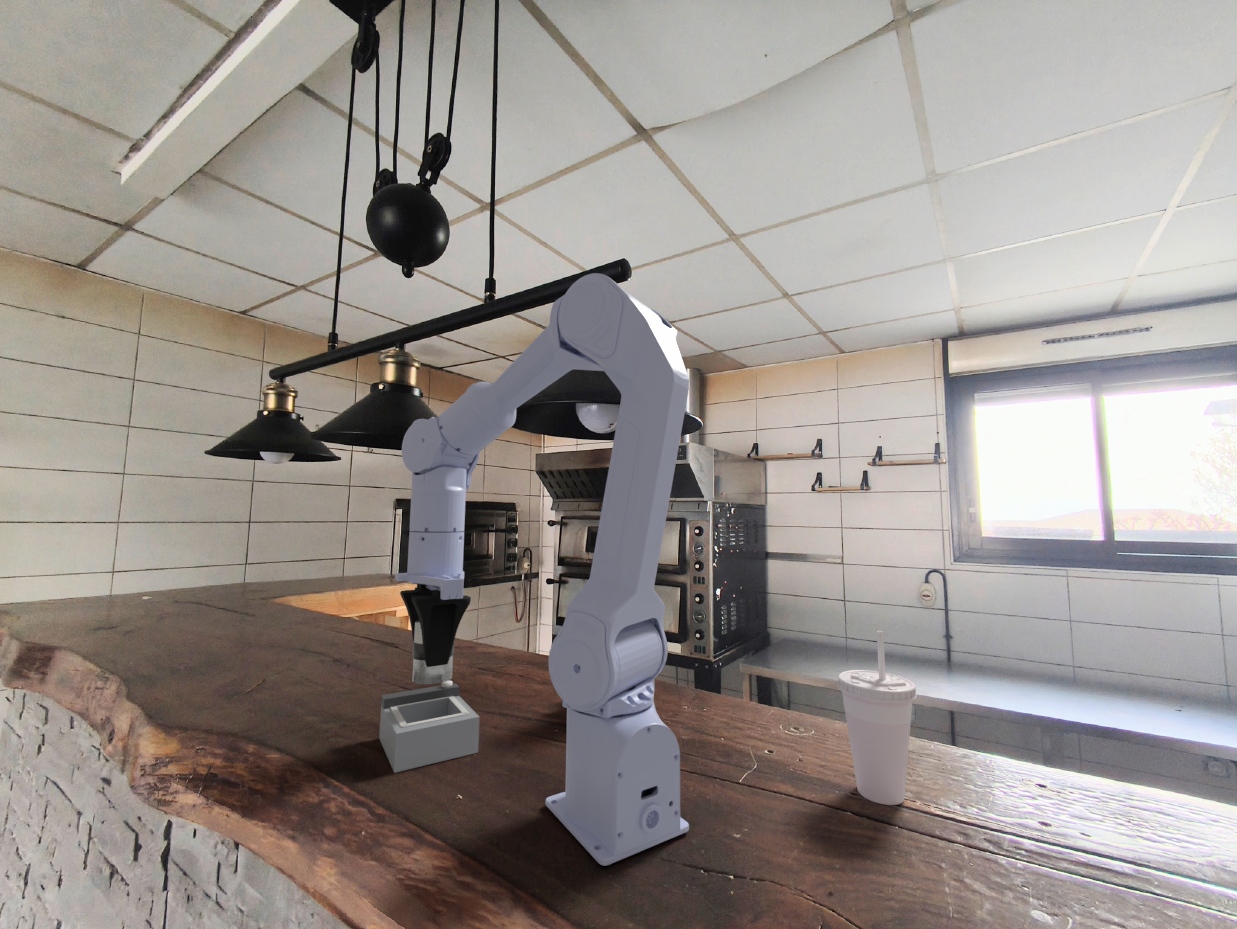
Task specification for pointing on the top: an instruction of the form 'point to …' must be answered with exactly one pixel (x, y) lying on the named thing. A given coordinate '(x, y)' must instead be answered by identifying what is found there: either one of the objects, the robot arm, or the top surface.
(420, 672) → the lens
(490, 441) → the robot arm
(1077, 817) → the top surface
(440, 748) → the grey sink basin
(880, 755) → the smoothie
